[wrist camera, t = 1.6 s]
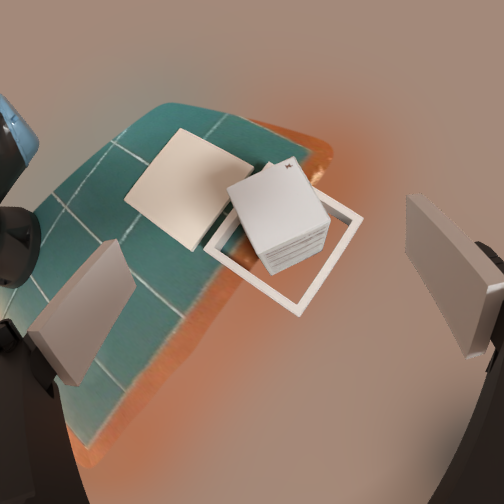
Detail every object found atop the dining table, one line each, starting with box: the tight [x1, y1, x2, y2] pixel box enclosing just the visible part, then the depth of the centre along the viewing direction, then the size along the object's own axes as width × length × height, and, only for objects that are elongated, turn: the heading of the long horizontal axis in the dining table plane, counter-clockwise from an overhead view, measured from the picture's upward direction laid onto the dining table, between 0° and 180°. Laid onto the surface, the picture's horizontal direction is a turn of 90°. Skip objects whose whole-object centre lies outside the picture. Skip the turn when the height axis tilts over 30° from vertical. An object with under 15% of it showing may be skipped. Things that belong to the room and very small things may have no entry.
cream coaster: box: [124, 128, 254, 252], centre depth 44 cm, size 14×14×1 cm
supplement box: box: [226, 157, 331, 276], centre depth 34 cm, size 7×7×13 cm
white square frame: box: [203, 162, 363, 317], centre depth 39 cm, size 14×14×2 cm
